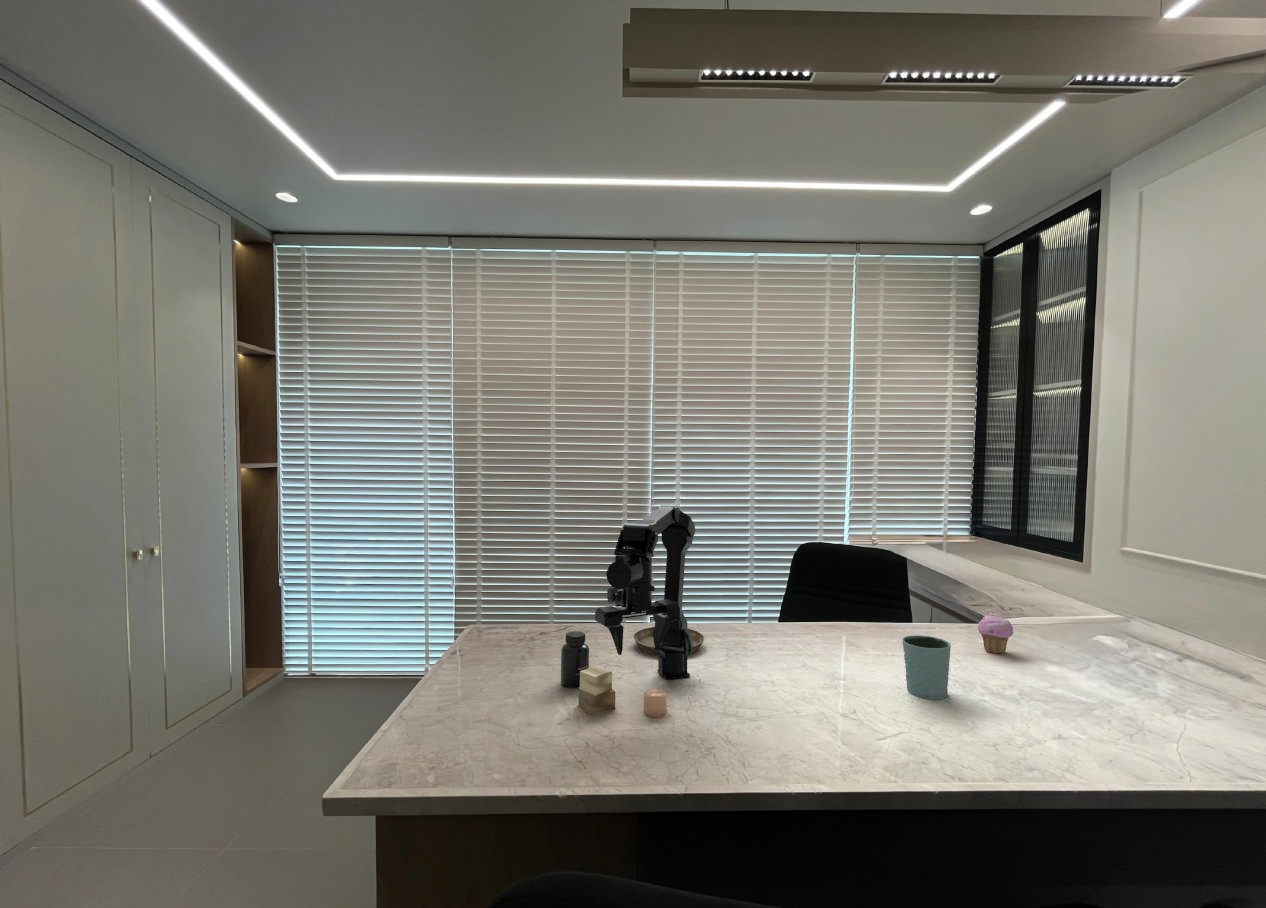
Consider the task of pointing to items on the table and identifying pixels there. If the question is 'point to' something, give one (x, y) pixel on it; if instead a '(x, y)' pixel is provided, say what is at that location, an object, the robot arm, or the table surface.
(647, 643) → the plant saucer
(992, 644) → the cupcake
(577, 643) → the supplement bottle
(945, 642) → the teal cup
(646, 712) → the peach cylinder
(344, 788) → the table surface
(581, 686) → the oak block
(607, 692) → the walnut block
